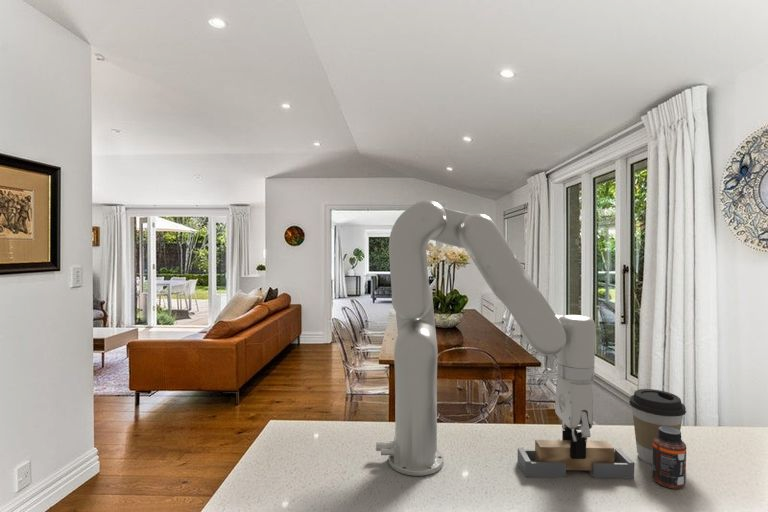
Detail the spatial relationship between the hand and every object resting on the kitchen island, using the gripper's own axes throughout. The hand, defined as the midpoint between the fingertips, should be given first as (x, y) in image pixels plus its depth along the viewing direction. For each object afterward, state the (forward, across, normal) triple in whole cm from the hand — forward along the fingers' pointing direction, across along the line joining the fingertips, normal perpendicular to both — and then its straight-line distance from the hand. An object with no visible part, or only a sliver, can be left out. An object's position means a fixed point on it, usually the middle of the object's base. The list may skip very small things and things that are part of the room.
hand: (573, 452), depth 99 cm
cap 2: (+4, 0, +7) cm, 8 cm away
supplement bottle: (+4, +4, +18) cm, 19 cm away
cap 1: (+4, 0, -7) cm, 8 cm away
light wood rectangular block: (+3, 0, 0) cm, 3 cm away
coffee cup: (+4, -6, +21) cm, 22 cm away
